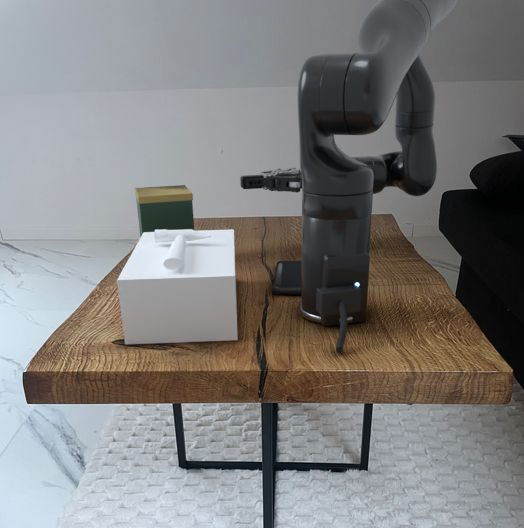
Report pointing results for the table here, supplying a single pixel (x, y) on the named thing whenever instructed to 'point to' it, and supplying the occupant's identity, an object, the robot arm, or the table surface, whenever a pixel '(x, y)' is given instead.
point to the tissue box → (180, 288)
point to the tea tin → (164, 208)
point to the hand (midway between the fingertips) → (241, 182)
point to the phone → (287, 278)
